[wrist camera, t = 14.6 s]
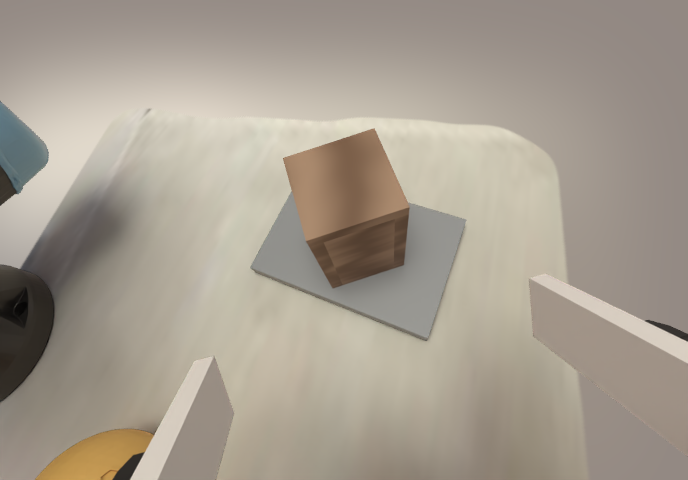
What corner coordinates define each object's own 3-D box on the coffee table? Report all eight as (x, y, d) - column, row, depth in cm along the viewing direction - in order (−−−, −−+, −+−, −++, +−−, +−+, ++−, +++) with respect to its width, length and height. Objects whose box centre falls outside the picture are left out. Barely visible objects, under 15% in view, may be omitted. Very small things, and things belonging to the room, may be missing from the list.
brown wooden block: (332, 288, 32) (306, 241, 22) (313, 225, 35) (282, 158, 25) (403, 265, 32) (409, 206, 22) (379, 203, 35) (374, 128, 25)
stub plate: (255, 272, 35) (220, 241, 28) (305, 178, 39) (286, 131, 32) (426, 340, 30) (437, 324, 23) (463, 226, 34) (482, 182, 27)
